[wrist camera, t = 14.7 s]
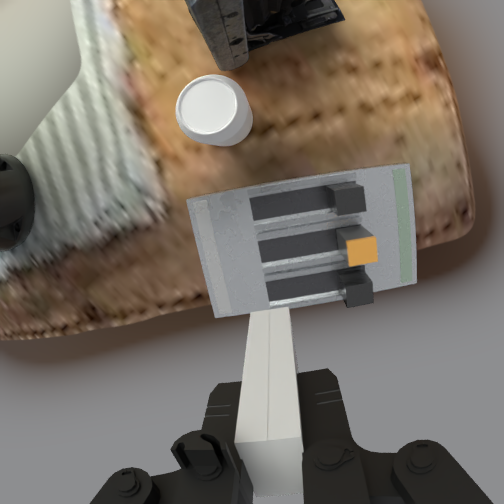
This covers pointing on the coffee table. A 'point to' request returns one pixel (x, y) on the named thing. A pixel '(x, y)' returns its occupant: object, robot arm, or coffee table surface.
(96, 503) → the robot arm
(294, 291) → the breaker panel
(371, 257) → the breaker
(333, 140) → the coffee table surface
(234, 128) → the beverage can
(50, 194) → the coffee table surface
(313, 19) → the vintage camera
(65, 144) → the coffee table surface
